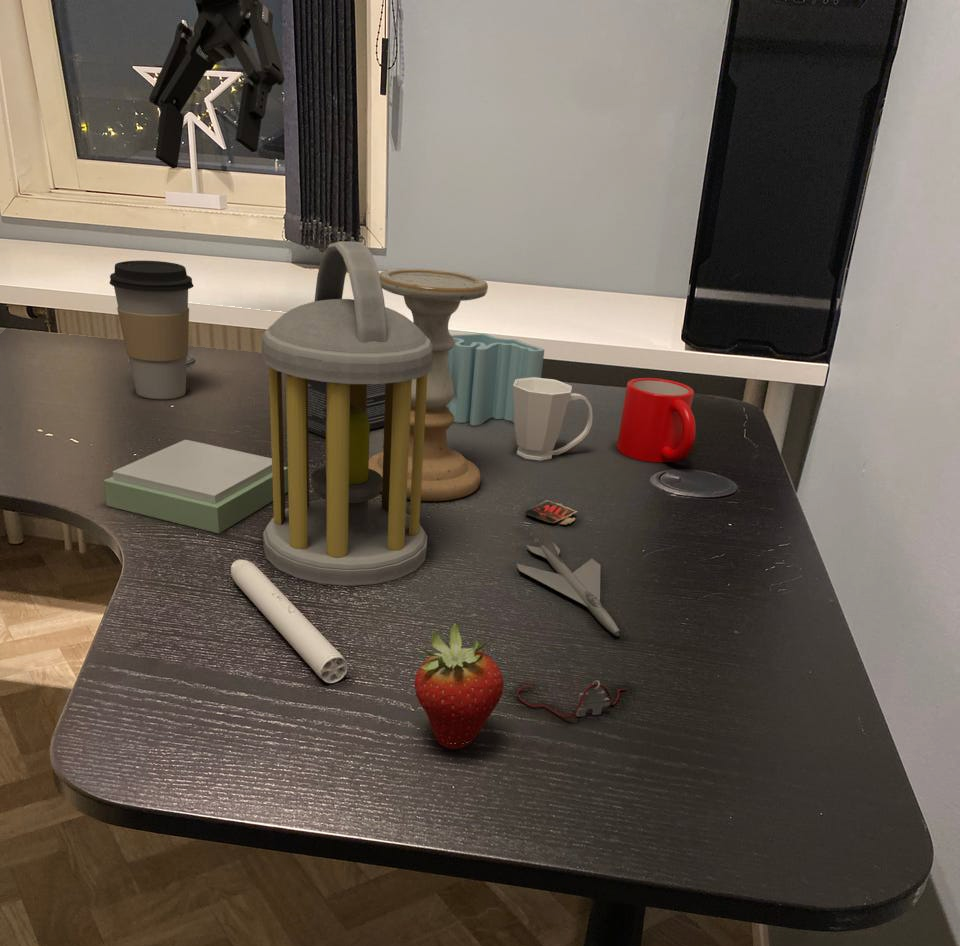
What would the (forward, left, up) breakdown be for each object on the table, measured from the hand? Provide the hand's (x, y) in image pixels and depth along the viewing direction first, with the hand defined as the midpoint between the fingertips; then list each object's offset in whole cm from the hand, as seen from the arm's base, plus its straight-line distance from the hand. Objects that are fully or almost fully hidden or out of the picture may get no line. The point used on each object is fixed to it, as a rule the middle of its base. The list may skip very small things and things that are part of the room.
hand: (205, 154), depth 109 cm
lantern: (+39, -38, -27) cm, 61 cm away
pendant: (+64, -52, -27) cm, 87 cm away
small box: (+23, -8, -27) cm, 36 cm away
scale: (+22, -36, -27) cm, 50 cm away
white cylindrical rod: (+41, -53, -27) cm, 72 cm away
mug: (+59, +4, -27) cm, 65 cm away
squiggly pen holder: (+33, +4, -27) cm, 43 cm away
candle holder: (+38, -20, -27) cm, 51 cm away
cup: (+47, -4, -27) cm, 54 cm away
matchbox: (+53, -21, -27) cm, 63 cm away
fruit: (+58, -60, -27) cm, 88 cm away
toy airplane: (+58, -34, -27) cm, 73 cm away
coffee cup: (-2, -9, -27) cm, 29 cm away
